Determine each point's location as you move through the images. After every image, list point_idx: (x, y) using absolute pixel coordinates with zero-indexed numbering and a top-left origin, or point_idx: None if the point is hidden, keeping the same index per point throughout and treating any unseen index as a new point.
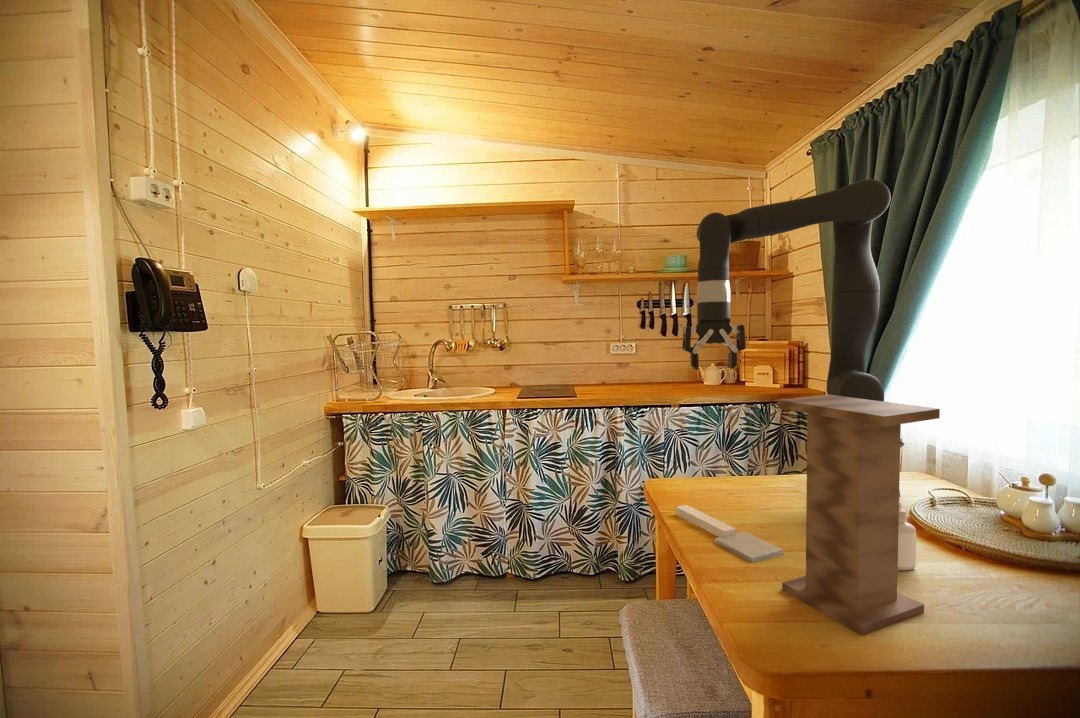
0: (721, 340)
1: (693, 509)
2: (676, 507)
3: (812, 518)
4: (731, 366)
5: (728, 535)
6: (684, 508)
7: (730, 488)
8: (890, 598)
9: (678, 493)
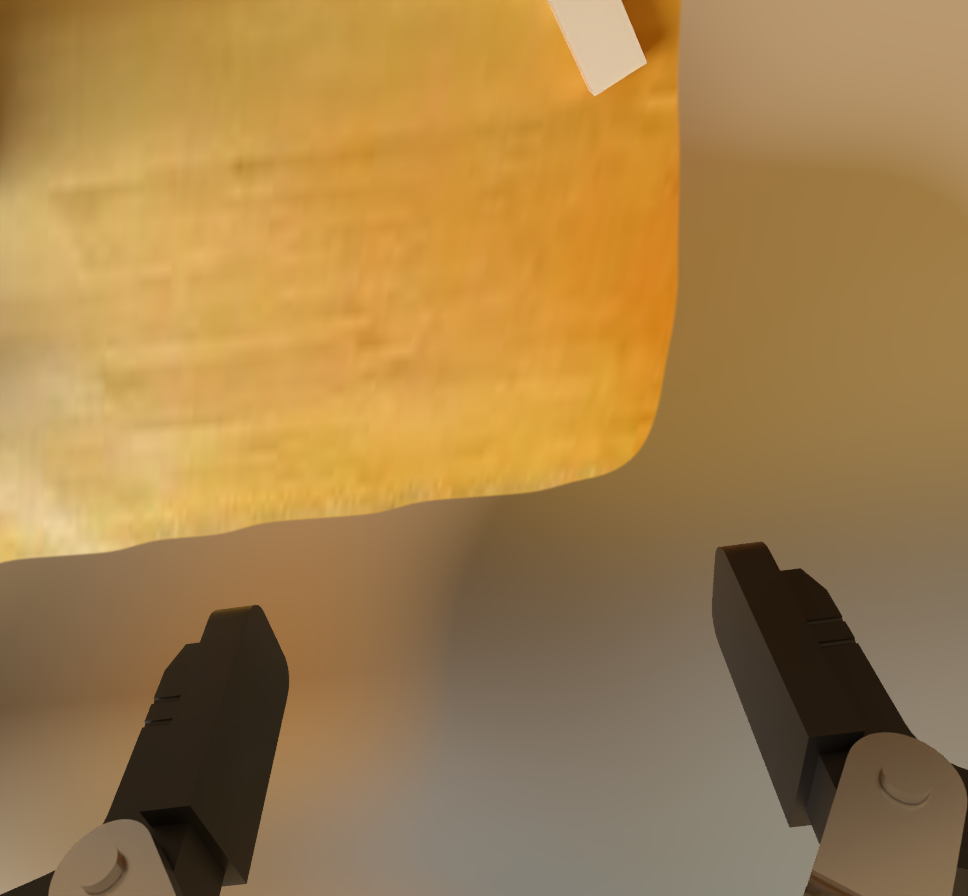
0: None
1: (576, 30)
2: (645, 60)
3: None
4: (250, 627)
5: None
6: (614, 41)
7: (363, 396)
8: None
9: (574, 324)
